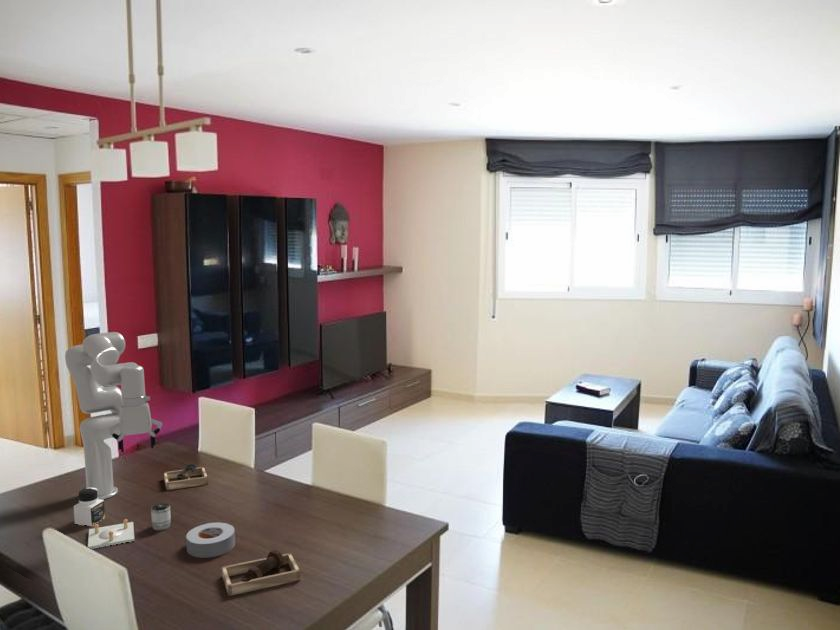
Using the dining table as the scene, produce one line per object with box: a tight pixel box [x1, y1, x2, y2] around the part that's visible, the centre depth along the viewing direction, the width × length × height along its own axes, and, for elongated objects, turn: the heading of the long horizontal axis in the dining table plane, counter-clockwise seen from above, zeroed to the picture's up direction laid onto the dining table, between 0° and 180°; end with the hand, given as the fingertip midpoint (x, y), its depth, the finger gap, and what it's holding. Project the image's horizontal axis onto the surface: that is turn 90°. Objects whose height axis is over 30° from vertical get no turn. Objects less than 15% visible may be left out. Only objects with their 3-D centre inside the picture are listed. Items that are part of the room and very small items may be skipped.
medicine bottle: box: [73, 487, 106, 527], centre depth 235 cm, size 7×7×12 cm
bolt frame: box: [221, 552, 301, 597], centre depth 198 cm, size 12×21×3 cm, turn 115°
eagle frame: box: [163, 466, 209, 491], centre depth 273 cm, size 13×16×3 cm
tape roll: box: [185, 522, 236, 559], centre depth 218 cm, size 15×15×5 cm
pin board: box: [87, 518, 135, 550], centre depth 224 cm, size 14×14×4 cm
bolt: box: [240, 549, 284, 582], centre depth 198 cm, size 6×5×15 cm
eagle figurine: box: [174, 463, 197, 480], centre depth 273 cm, size 8×7×9 cm
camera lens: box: [150, 502, 172, 531], centre depth 232 cm, size 6×6×8 cm
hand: (137, 449), depth 230 cm, fingers open, 9 cm apart
